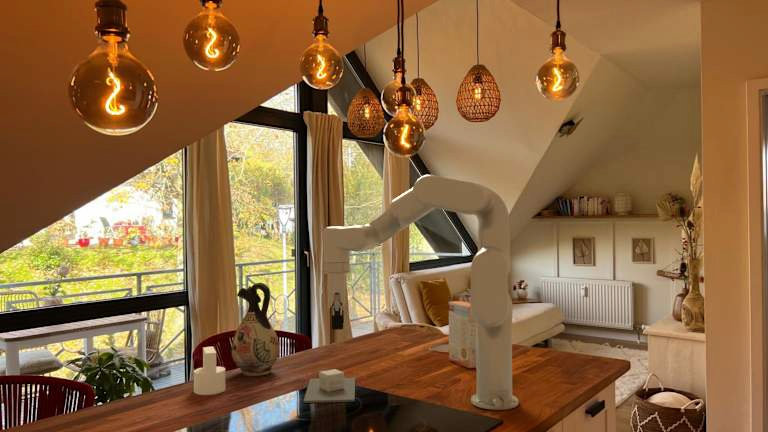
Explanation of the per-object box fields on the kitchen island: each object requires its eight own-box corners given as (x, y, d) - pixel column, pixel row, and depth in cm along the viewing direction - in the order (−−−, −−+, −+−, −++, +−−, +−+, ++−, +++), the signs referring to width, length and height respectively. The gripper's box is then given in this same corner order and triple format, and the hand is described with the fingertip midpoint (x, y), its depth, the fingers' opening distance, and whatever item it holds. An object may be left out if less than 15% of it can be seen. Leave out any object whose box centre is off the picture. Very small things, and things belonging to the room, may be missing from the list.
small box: (335, 384, 176) (334, 368, 176) (345, 389, 172) (344, 372, 172) (318, 388, 173) (318, 371, 173) (328, 392, 168) (327, 375, 168)
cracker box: (484, 367, 197) (483, 305, 197) (468, 369, 194) (467, 306, 195) (463, 358, 210) (462, 300, 210) (448, 360, 207) (447, 301, 208)
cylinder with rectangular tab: (192, 388, 176) (192, 348, 176) (223, 384, 180) (223, 345, 180) (195, 396, 168) (194, 354, 168) (227, 392, 171) (226, 351, 171)
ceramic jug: (221, 376, 189) (220, 283, 189) (253, 365, 203) (252, 278, 203) (262, 382, 181) (261, 285, 181) (292, 370, 195) (292, 280, 195)
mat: (354, 401, 162) (354, 399, 162) (303, 402, 161) (303, 400, 161) (355, 379, 184) (355, 377, 184) (310, 380, 183) (310, 378, 183)
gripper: (325, 266, 182) (326, 321, 181) (322, 271, 164) (323, 332, 164) (349, 265, 182) (350, 320, 182) (349, 270, 165) (350, 331, 165)
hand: (338, 326), depth 173 cm, fingers open, 9 cm apart
